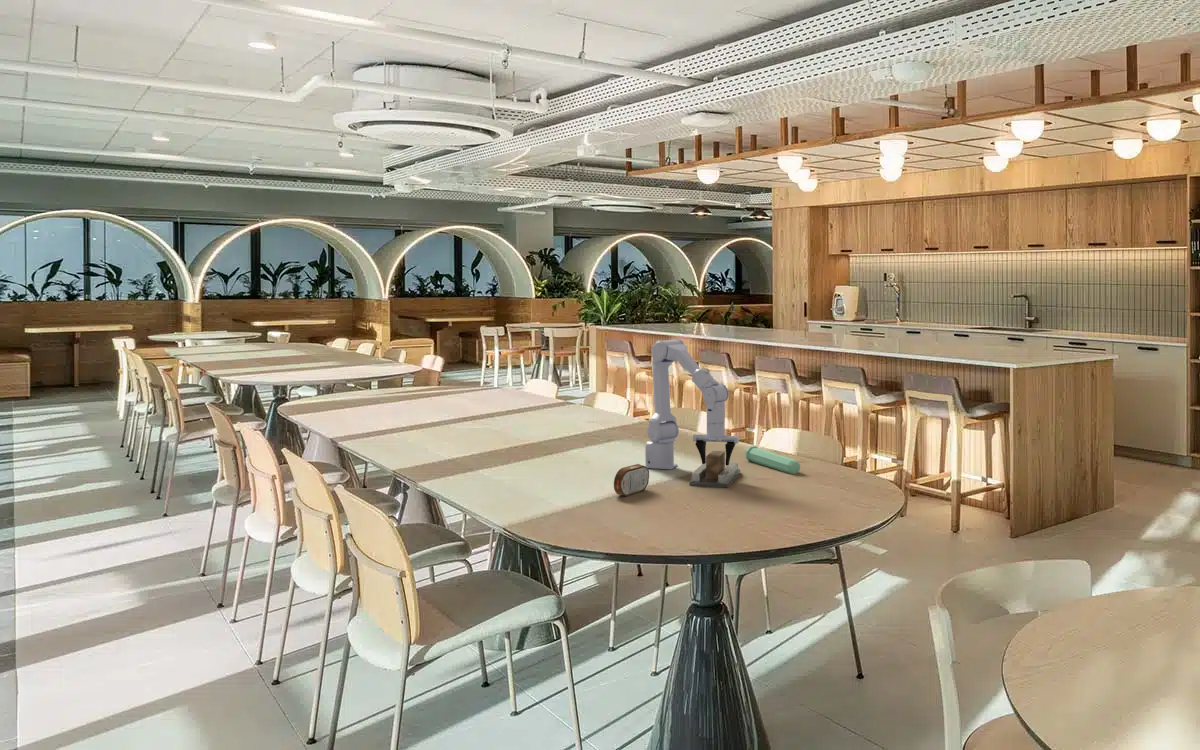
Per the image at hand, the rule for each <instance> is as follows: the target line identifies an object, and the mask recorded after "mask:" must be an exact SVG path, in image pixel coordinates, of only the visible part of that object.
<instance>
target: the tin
mask: <svg viewBox="0 0 1200 750" xmlns="http://www.w3.org/2000/svg"><path fill="white" fill-rule="evenodd" d="M649 480H650V470H649V468H647V467H646V465H641V464H640V463H636V464H633V465H628V466H624V467H622V468H620V469H619V470H618V471H616V473H615V476H614V479H613V490H614V492H615V493H616V494H617V495H618V496H623V497H625V496H626V497H629V496H631V495H635V494H638V493H640V492H643V491H645V490H646V488H647V486H648V484H649Z"/></svg>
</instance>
